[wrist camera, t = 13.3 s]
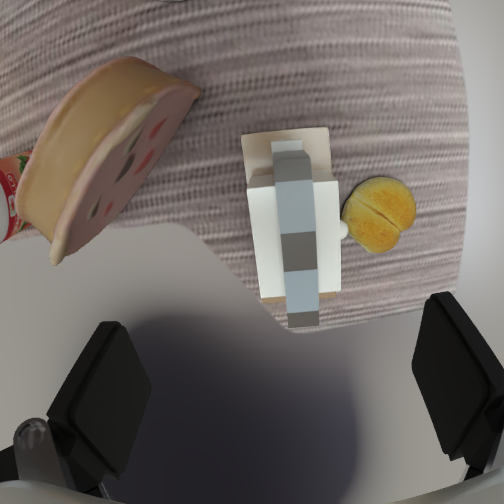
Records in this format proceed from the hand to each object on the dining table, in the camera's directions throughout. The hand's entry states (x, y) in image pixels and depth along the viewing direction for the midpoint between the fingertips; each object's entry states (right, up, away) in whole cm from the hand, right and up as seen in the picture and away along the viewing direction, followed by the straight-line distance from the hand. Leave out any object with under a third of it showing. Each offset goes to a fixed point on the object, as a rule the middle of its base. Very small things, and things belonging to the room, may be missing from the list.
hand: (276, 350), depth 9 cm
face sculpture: (-14, +15, +25) cm, 33 cm away
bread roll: (+14, +8, +27) cm, 31 cm away
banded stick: (+4, +5, +24) cm, 25 cm away
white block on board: (+4, +7, +28) cm, 29 cm away
